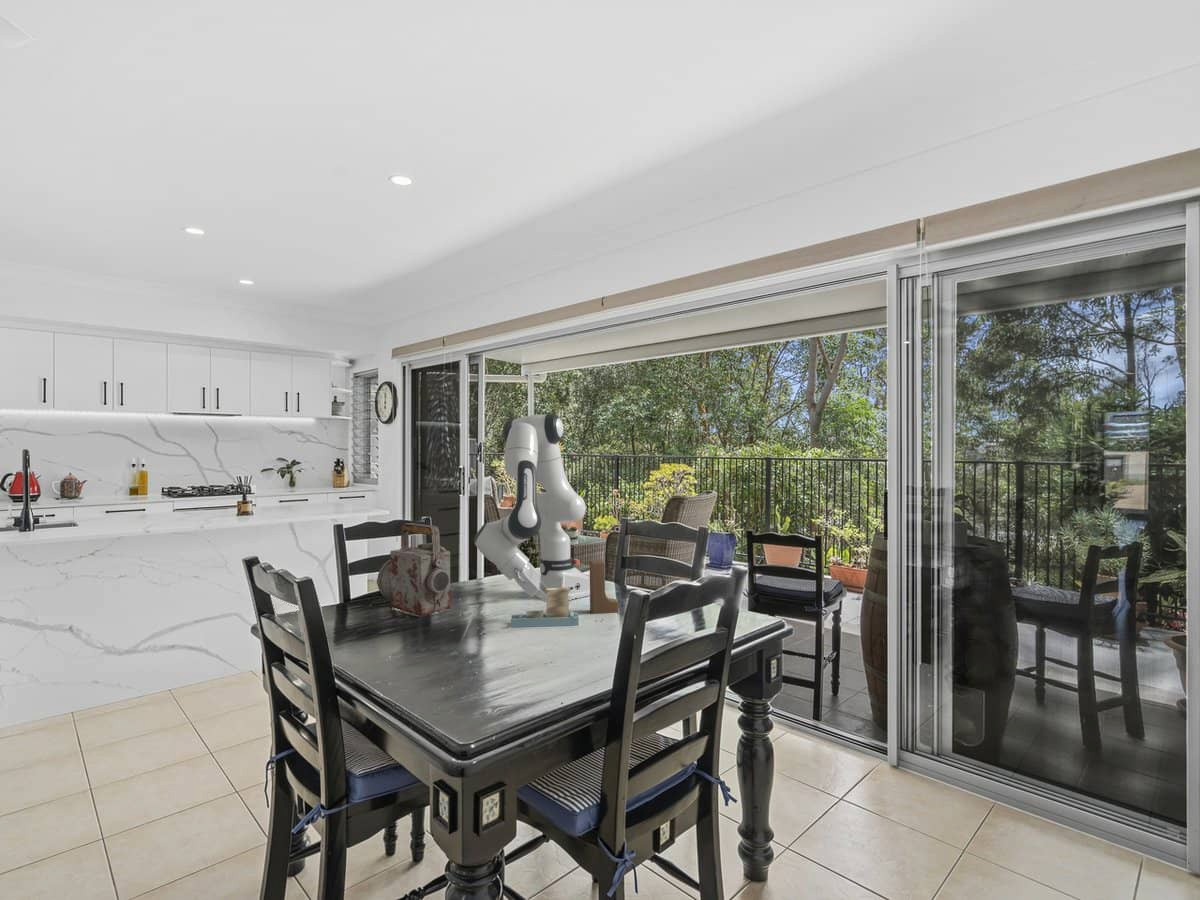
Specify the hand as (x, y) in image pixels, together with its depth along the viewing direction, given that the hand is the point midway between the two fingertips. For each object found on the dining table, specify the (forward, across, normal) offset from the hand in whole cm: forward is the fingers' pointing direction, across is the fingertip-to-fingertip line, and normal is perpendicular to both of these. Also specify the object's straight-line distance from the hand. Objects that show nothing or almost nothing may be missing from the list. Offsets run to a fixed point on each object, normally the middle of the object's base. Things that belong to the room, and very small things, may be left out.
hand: (547, 596), depth 200 cm
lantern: (-25, +26, +39) cm, 54 cm away
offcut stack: (+3, 0, +9) cm, 10 cm away
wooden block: (+20, +13, -6) cm, 25 cm away
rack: (+6, 0, +7) cm, 10 cm away
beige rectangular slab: (+8, 0, +4) cm, 9 cm away
